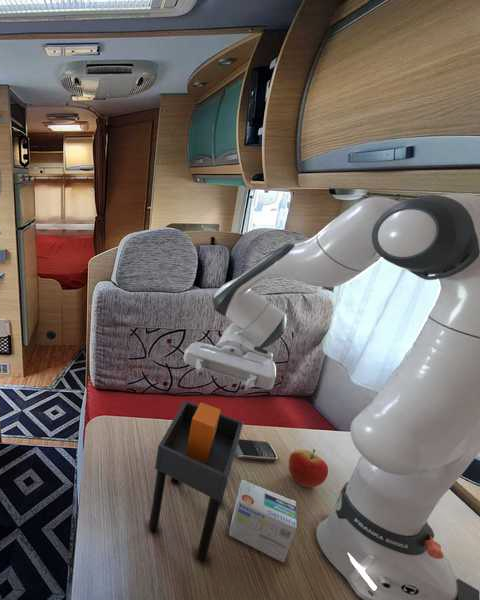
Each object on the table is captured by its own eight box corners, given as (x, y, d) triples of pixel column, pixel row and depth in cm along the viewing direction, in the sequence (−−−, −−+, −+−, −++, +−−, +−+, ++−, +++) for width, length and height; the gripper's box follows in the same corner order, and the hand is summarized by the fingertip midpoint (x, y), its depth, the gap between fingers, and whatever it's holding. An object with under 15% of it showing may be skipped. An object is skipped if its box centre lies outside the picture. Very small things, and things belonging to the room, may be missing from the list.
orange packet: (212, 447, 69) (220, 409, 66) (205, 467, 65) (213, 427, 61) (193, 439, 71) (200, 401, 68) (185, 457, 67) (192, 418, 63)
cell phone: (278, 462, 89) (279, 458, 89) (236, 459, 90) (237, 455, 89) (268, 445, 95) (269, 441, 94) (229, 441, 96) (229, 438, 95)
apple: (279, 479, 84) (289, 449, 81) (290, 462, 89) (300, 434, 86) (315, 501, 79) (328, 471, 75) (325, 482, 84) (337, 453, 80)
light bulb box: (284, 535, 71) (297, 500, 67) (284, 565, 66) (298, 528, 62) (231, 510, 76) (241, 476, 72) (227, 536, 71) (237, 501, 67)
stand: (222, 501, 78) (236, 444, 72) (204, 564, 66) (220, 501, 59) (172, 476, 84) (181, 421, 78) (147, 529, 72) (156, 468, 65)
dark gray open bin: (238, 444, 72) (243, 422, 69) (221, 502, 59) (227, 478, 57) (181, 420, 78) (184, 400, 76) (155, 468, 65) (158, 445, 63)
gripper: (193, 331, 88) (177, 353, 77) (280, 355, 78) (275, 384, 67) (190, 352, 90) (173, 376, 80) (274, 377, 80) (268, 408, 69)
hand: (220, 379), depth 73 cm, fingers open, 8 cm apart
